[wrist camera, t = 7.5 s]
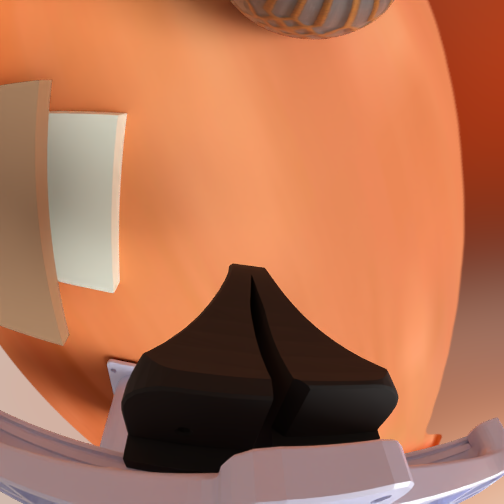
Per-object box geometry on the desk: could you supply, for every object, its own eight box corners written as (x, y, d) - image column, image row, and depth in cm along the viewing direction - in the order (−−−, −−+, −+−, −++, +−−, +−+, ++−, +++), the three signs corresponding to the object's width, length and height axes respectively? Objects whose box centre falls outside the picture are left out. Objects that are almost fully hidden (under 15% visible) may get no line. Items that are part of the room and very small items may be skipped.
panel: (122, 276, 18) (113, 293, 17) (14, 254, 17) (1, 267, 16) (130, 112, 14) (117, 115, 12) (4, 112, 13) (-14, 116, 11)
